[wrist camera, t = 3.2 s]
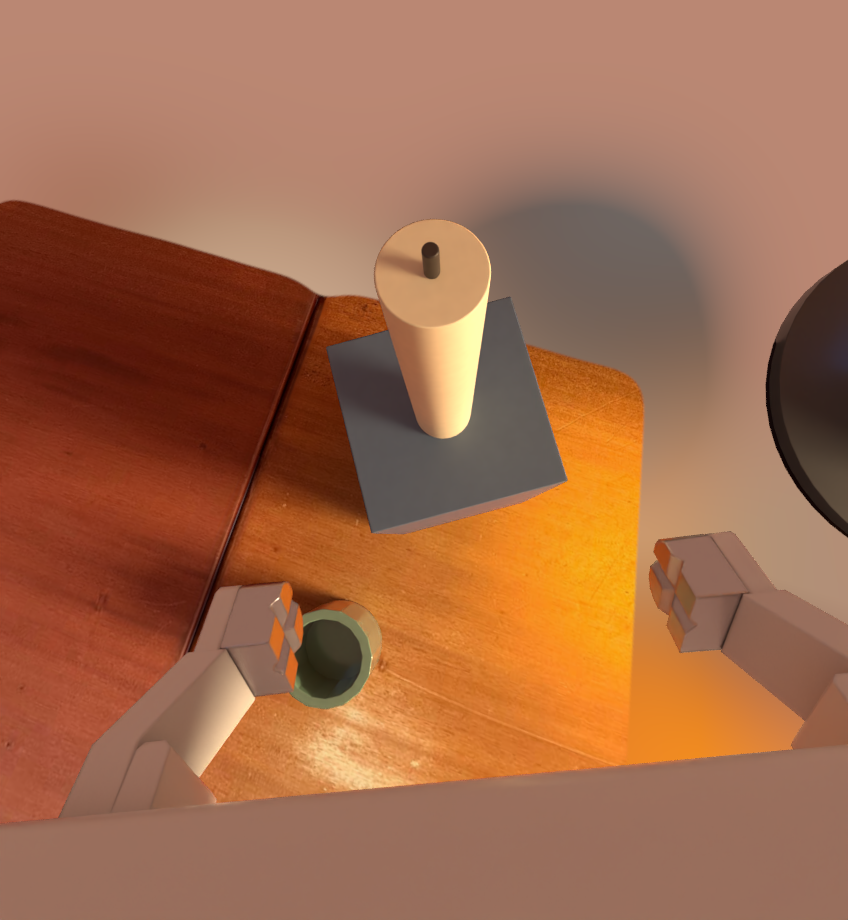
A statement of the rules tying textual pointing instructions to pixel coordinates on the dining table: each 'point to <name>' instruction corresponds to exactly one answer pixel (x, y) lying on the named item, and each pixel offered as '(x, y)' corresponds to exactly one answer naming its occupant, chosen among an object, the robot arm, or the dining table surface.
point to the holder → (336, 654)
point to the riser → (450, 459)
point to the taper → (435, 317)
